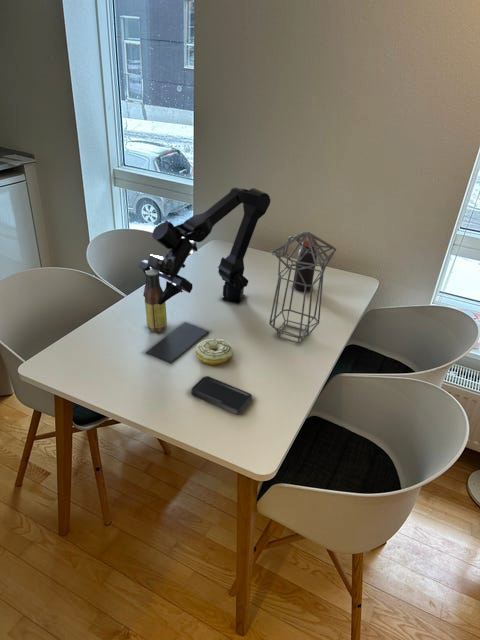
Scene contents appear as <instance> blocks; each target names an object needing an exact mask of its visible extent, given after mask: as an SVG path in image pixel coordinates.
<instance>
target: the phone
mask: <svg viewBox="0 0 480 640" xmlns="http://www.w3.org/2000/svg"><path fill="white" fill-rule="evenodd" d="M190 393H191V395H192V396H193V397H196V398H198V399H201V400H202V401H204V402H207V403H210V404H212V405H214V406H216V407H218V408H221V409H223V410H225V411H228V412H230V413H232V414H234V415H240V414H242V413H243V412H244V410H245V409H246V408H247V406H248V405H249V404H250V403H251V401H253V395H252V393H250V392H248V391H245V390H242V389H240V388H238V387H235V386H233V385H230V384H228V383H226V382H223V381H221V380H218V379H216V378H213V377H211V376H209V375H205V376H203V377H202V378H201V379H200V380H199V381H198V382H196V383H195V384H194V385H193V386H192V387H191V390H190Z"/></svg>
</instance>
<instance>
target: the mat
mask: <svg viewBox="0 0 480 640" xmlns="http://www.w3.org/2000/svg"><path fill="white" fill-rule="evenodd" d="M207 333H209V330H208V329H204V328H202V327H199V326H197V325H194V324H191V323H189V322H186V321H185V322H183V323H182V324H181V325H180V326H178V327H177V328H176V329H174V330H173V331H172V332H170V333H168V335H166V336H165V337H164V338H162V339H161V340H159V341H158V342H157V343H156V344H154V345H153V346H152V347H151V348H149V349H148V350H147V351H145V354H147V355H149V356H152V357H153V358H156V359H159V360H160V361H164V362H166V363H168V364H172V363H173V362H175V361H176V360H177V359H178V358H179V357H181V356H182V355H183V354H184V353H185V352H186V351H187V350H189V349H190V348H191V347H192V346H194V345H195V344H196V343H197V342H199V341H200V340H201V339H202V338H203V337H205V336H206V335H207Z"/></svg>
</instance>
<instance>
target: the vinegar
mask: <svg viewBox="0 0 480 640" xmlns="http://www.w3.org/2000/svg"><path fill="white" fill-rule="evenodd" d="M315 241H316V242H318V240H316V239H315ZM306 242H308V238H306ZM301 243H302V244H303V242H301ZM311 244H312V241H311ZM304 246H305V247H306V248H307V249H309V246H310V245H309V244H306V243H305V244H304ZM312 249H313V252H314V253H315V254H316V251H317V250H316V251H315V249H314V246H313V244H312ZM300 250H301V248H299V250H298V251H297V257H298V256H299V253H300ZM309 251H310V252H311V249H310V250H309ZM305 252H306V250H305V249H304V248H303V250H302V253H301V256H300V258H301V257H302V256H303V255H304V253H305ZM314 256H315V255H314ZM315 259H316V260H317V259H318V257H317V256H315ZM300 262H305V263H311V264H315V263H314V259H313V256H312V254H310V253H308V252H307V254H306V255H305V256H304V257H303V258H302V259H301V261H300ZM298 265H301V266H305V267H307V266H311V265H305V264H299V263H298ZM298 268H303V267H300V266H297V269H298ZM311 268H312V269H316V266H315V267H311ZM299 271H300V273H301V275H302V277H303V279H304V281H305V283H306V285H312V284H313V282H314V275H315V270H311V269H308V268H307V269H302V270H299ZM295 282H298V283H301V284H304V283H303V281H302V279H301V277H300V275H299V273H298V271H297V273H296V279H295ZM294 290H296V291H298V292H301V293H304V291H305V286H304V285H300V284H297V283H295V285H294ZM307 292H311V287H308V286H307V288H306V293H307Z"/></svg>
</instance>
